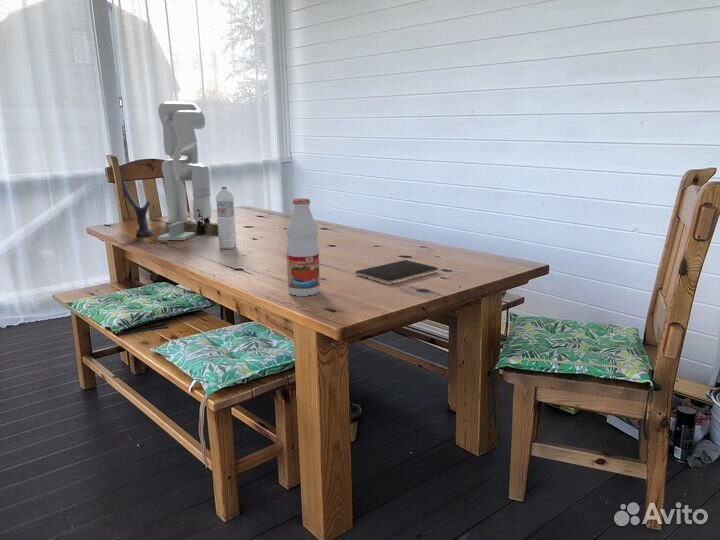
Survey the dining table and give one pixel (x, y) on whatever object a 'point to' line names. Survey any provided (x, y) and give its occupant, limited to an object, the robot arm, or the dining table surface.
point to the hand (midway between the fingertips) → (204, 232)
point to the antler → (138, 213)
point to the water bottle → (226, 219)
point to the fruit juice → (302, 251)
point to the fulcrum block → (176, 232)
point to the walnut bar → (209, 228)
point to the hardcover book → (396, 271)
